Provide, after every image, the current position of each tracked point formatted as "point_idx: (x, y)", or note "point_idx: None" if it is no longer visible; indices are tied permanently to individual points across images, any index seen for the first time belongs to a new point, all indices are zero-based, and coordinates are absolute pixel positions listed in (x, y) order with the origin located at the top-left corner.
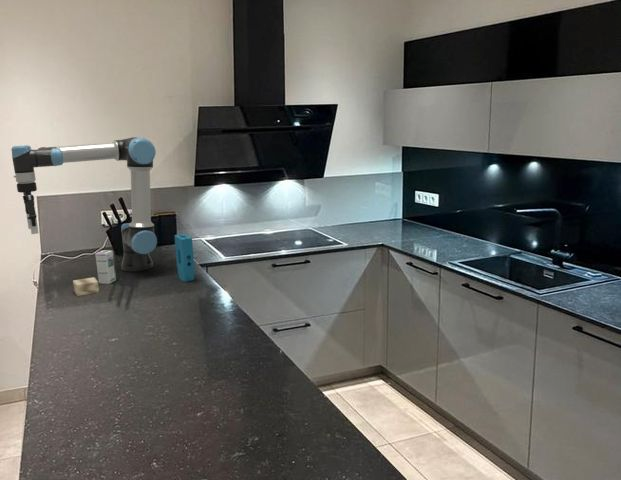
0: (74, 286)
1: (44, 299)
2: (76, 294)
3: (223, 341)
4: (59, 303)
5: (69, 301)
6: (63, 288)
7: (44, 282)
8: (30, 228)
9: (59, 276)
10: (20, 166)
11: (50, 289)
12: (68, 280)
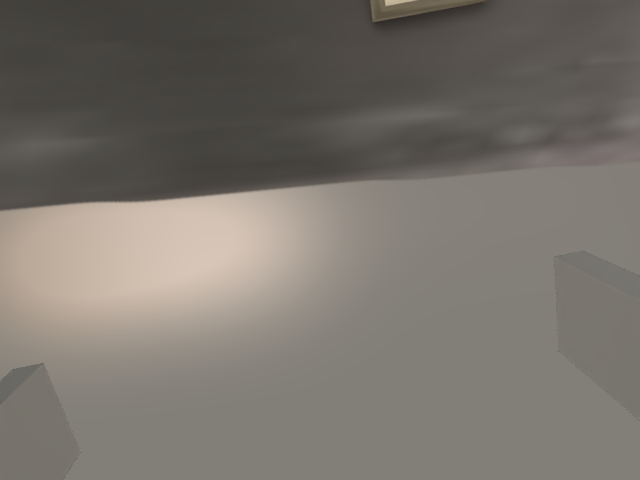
0: (426, 4)
1: (460, 166)
2: (464, 4)
3: None
4: (565, 88)
5: (558, 39)
6: (299, 84)
7: (130, 198)
8: (67, 434)
9: (17, 125)
10: None
11: (289, 153)
12: (132, 65)
